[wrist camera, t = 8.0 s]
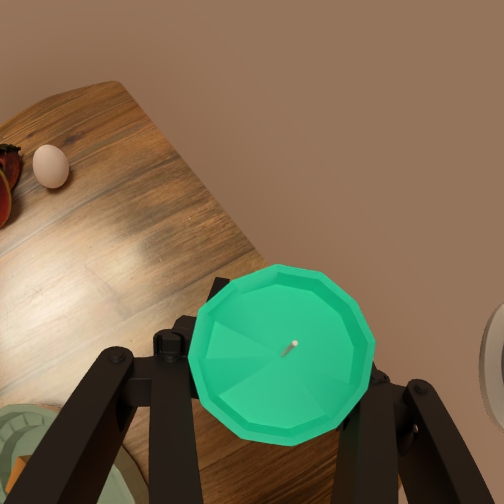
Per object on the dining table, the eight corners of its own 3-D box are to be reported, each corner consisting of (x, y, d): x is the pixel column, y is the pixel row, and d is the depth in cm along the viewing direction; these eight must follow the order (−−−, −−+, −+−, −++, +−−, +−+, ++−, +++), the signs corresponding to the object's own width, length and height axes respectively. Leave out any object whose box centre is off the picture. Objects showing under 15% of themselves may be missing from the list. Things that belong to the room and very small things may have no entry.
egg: (41, 197, 40) (19, 165, 33) (51, 170, 43) (33, 137, 36) (69, 196, 41) (48, 161, 34) (79, 168, 43) (62, 133, 36)
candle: (299, 330, 20) (375, 240, 10) (308, 420, 18) (407, 431, 7) (206, 334, 20) (181, 244, 9) (210, 427, 17) (183, 461, 7)
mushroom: (18, 206, 48) (-31, 245, 35) (-3, 148, 42) (-59, 176, 29) (61, 189, 47) (8, 229, 34) (38, 122, 41) (-23, 146, 28)
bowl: (184, 471, 27) (175, 485, 21) (118, 586, 17) (103, 608, 12) (34, 372, 29) (6, 364, 24) (-12, 489, 20) (-40, 493, 15)
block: (81, 481, 24) (58, 490, 19) (66, 512, 21) (44, 524, 16) (43, 452, 24) (17, 456, 20) (30, 484, 22) (4, 490, 17)
